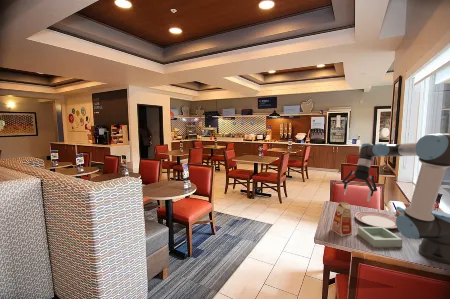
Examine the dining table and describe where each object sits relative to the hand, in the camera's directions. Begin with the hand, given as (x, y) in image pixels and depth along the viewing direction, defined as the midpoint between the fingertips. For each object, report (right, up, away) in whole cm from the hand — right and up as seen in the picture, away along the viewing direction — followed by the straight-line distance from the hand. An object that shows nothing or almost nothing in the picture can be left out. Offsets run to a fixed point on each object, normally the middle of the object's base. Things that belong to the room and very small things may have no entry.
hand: (356, 197), depth 147 cm
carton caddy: (+6, -23, -13) cm, 27 cm away
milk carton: (-10, -22, -2) cm, 24 cm away
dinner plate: (+21, -20, +11) cm, 32 cm away
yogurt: (+45, -19, +20) cm, 53 cm away
